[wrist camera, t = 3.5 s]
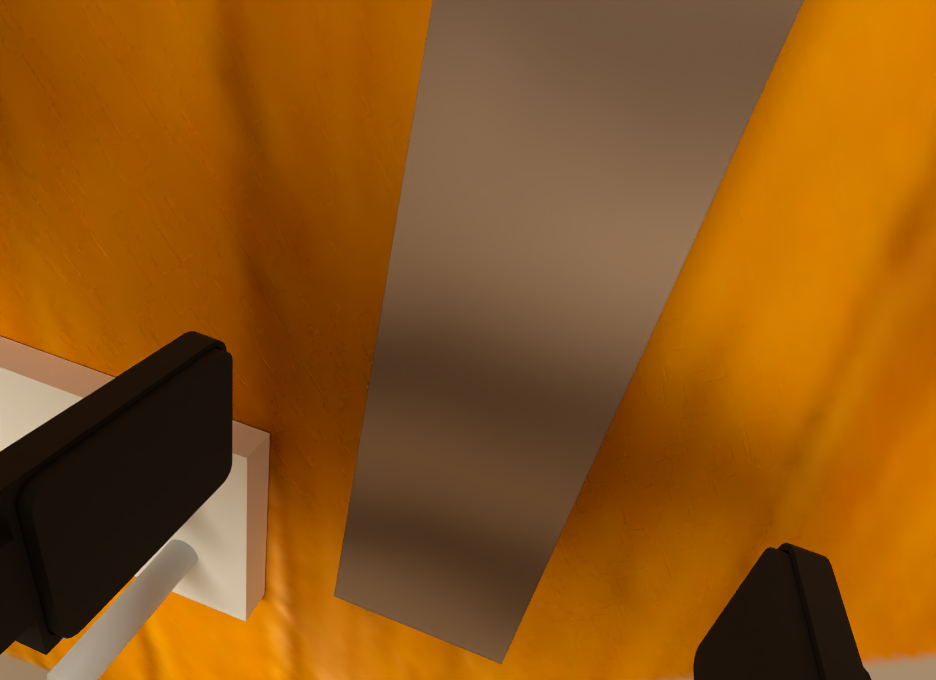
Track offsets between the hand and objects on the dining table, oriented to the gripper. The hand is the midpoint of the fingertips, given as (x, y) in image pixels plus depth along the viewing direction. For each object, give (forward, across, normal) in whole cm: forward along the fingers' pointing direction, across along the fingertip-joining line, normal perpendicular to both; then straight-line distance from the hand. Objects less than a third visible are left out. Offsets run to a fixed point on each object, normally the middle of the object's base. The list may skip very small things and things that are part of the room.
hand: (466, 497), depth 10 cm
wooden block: (+8, +1, 0) cm, 9 cm away
